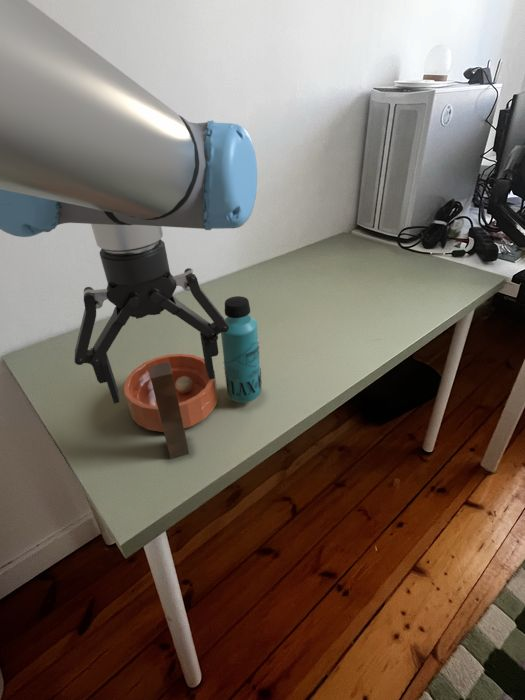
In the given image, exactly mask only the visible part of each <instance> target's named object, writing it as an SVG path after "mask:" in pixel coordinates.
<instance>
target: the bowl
mask: <svg viewBox="0 0 525 700" xmlns="http://www.w3.org/2000/svg"><path fill="white" fill-rule="evenodd" d="M167 362H169V363H170V366H171V370H172V373H173V378H174V383H175V384H176V381H177V379H178V378H180V377H182V376H186V377H189V378H190V379H191V380H192V382H193V388H192V390H191V391H190V392H189V393H186V394H182V393H180V392H178V391H177V389H176V392H177V397H178V402H179V407H180V411H181V416H182V421H183V426H184V429H187V428H190V427H193V426H195V425H197V424H198V423H200V422H203V421H204V420H205V419H206V418H207V417H208V416H209V415H210V414H211V413H212V412H213V411H214V409H215V407H216V405H217V403H218V398H219V397H218V395H219V392H218V386H217V379H216V378H217V377H215V379H211V380H210V378H209V376H208V374H207V371H206V367H205V361H204V357H200V356H197V355H194V354H189V353H188V354H187V353H175V354H174V353H172V354H166V355H161V356H158V357H155V358H152V359H149V360H147V361H145V362H143V363H141V364H140V365H139V366H137V367H136V368H135V369H133V370H132V371H131V373H130V374H129V375H128V376H127V377H126V378H125V382H124V385H123V392H124V396H125V400H126V404H127V407H128V409H129V413H130V417H131V419H133V421H134V422H135V423H136V424H137V425H138V426H140V427H142V428H144V429H146V430H147V431H152V432H153V431H155V432H160V433H164V430H163V426H162V422H161V418H160V414H159V410H158V406H157V402H156V398H155V394H154V390H153V386H152V382H151V377H150V373H149V368H148V367H150V366H154V365H159V364H163V363H167ZM214 375H215V376H216V372H215V370H214ZM175 388H176V387H175Z"/></svg>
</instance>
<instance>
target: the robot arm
mask: <svg viewBox="0 0 525 700" xmlns="http://www.w3.org/2000/svg"><path fill="white" fill-rule="evenodd" d="M257 163H258V162H257V156H256V151H255V147H254V143H253V141H252V138H251V136H250V135H249V132H248V131H247V129H245V127H243V126H241V125H239V124H238V123H231V122H230V123H229V122H216V121H214V120H207V121H206V122H197V123H196V122H191V121H188V120H187V119H186V118H184V117H183V116H182V115H180V114H178V113H177V112H176V111H175V110H174V109H172V108H171V107H169V106H168V105H166V104H165V103H164V102H163V101H162V100H160V99H158V98H157V97H156V96H155V95H154V94H152V93H151V92H150V91H148V90H147V89H145V88H144V87H143V86H141V85H140V84H139V83H138V82H136V81H135V80H133V79H132V78H131V77H130V76H128V75H127V74H125V73H124V72H123V71H122V70H121V69H119V68H118V67H116V66H115V65H113V64H112V63H111V62H110V61H108V60H107V59H106V58H104V57H103V56H102V55H100V54H99V53H97V52H96V51H95V50H94V49H93V48H91V47H90V46H89V45H87V44H86V43H85V42H83V41H82V40H81V39H80V38H78V37H77V36H75V35H74V34H73V33H71V32H70V31H68V29H66V28H64V26H62V25H60V24H59V23H58V22H57V21H55V20H54V19H53V18H51V17H50V16H49V15H47V14H46V13H45V12H44V11H42V10H41V9H40V8H38V7H37V6H36V5H34V4H33V3H32V2H30V1H29V0H0V230H1V231H2V232H5V233H6V234H8V235H11V236H14V237H19V238H20V237H21V238H29V237H30V238H31V237H33V236H37V235H40V234H41V233H51V232H52V231H53V230H55V229H56V228H57V226H59V225H63V224H87V225H90V226H91V229H92V233H93V236H94V240H95V243H96V245H97V247H98V248H100V251H99V257H100V260H101V264H102V268H103V271H104V274H105V279H106V282H107V286H106V288H101V289H94V288H93V287H91V286H86V287H84V289H83V304H84V311H83V315H82V319H81V324H80V328H79V330H78V335H77V339H76V345H75V349H74V363H75V365H77V366H82V365H83V364H88V365H91V366H92V369H93V371H94V374H95V378H96V380H97V382H98V383H99V384H104V383H107V387H108V390H109V392H110V395H111V398H112V399H111V400H112V402H113V404H118V403H120V392H119V388H118V385H117V381H116V379H115V376H114V372H113V368H112V366H111V363H110V359H109V356H108V351H110V348H111V346H112V345H113V343H114V342H115V340H116V339H117V337H118V335H119V333H120V332H121V330H122V328H123V327H124V326H125V325H127V322H128V321H129V319H130V317H132V318H135V319H136V320H138V319H142V318H145V317H147V316H157V315H161V313H162V312H163V311H167V312H168V313H170V314H171V315H173V316H176V317H178V318H179V319H180V320H182V321H183V322H184V323H186V324H187V325H189V326H191V327H192V328H194V329H195V330H197V331H198V332H199V337H200V341H201V348H202V354H203V355H202V356H203V359H204V361H205V367H206V371H207V374H208V376H209V378H210V380H211V379H215V378H216V374H215V375H214V371H215V368H214V361H213V358H214V357H217V356H218V355H219V346H218V340H219V336H218V335H219V334H221V332H227V331H228V329H229V327H228V325H227V323H226V321H225V318H224V317H223V315H222V314H221V312H220V311H219V310H218V309H217V307H216V306H215V305H214V304H213V302H212V301H211V300H210V298H209V297H208V296H207V294H206V293H205V292H204V291H203V289H202V288H201V286H200V284H199V281H198V277H197V276H196V273H195V271H194V270H193V269H192V268H190V267H188V268H186V269H185V270H184V272H183V273H179V274H176V275H173V274H172V273H171V269H170V265H169V260H168V255H167V248H166V243H165V242H164V241H163V240H162V238H163V236H164V232H163V228H162V227H165V228H167V227H168V228H182V229H183V228H184V229H199V230H200V229H202V230H205V231H211V230H212V229H213V230H214V229H218V230H219V229H237V228H240V227H242V226H244V225H245V224H246V223H247V222H248V221H249V219H250V217H251V215H252V213H253V210H254V207H255V203H256V199H257V191H258V190H257V189H258V164H257ZM177 287H181V288H182V289H183V290H184V291H187V292H189V291H190V293H191V295H192V297H193V298H194V299H195V301H196V302H197V304H198V305H199V306H200V307H201V308H202V309H203V310H204V312H205V313H206V315H208V317H209V318H210V319H211V320H212V323H210V321H208V320H206V319H205V318H203V317H202V316H200V314H198V313H196V312H195V311H194V310H193V309H191V308H190V307H188V306H187V305H185V304H184V303H183V302H181V301H180V300H179V299H178V298H177V297H176V296H174V293H175V291H176V289H177ZM107 300H108V301H109V302H110V303H111V304H113V305H114V308H113V312H112V314H111V316H110V318H109V319H108V321H107V322H106V324H105V326H104V328H103V329H102V330H101V333H100V335H99V336H98V338H97V339H96V341H95V343H94V344H93V346H92V347H90V342H91V338H92V335H93V331H94V328H95V327H94V326H95V322H96V318H97V310H98V309H101V308H102V307H103V304H104V302H105V301H107ZM89 347H90V349H89Z"/></svg>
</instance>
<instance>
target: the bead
mask: <svg viewBox="0 0 525 700" xmlns="http://www.w3.org/2000/svg"><path fill="white" fill-rule="evenodd" d="M175 387H176V389H177V391H178V392H180V393H182V394H186V393H189V392H190V391H191V390H192V388H193V382H192V380H191V379H190V378H189V377H186V376H182V377H180V378H178V379H177V381H176V384H175Z"/></svg>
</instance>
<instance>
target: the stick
mask: <svg viewBox="0 0 525 700" xmlns="http://www.w3.org/2000/svg"><path fill="white" fill-rule="evenodd" d="M148 368H149V373H150V377H151V382H152V386H153V390H154V394H155V398H156V402H157V406H158V410H159V414H160V418H161V422H162V426H163V430H164V432H163V434H164V437H165V442H166V445H167V450H168V455H169V458H170V460H172V459H176V458H180V457H183V456H186V455H189V454H190V450H189V445H188V441H187V436H186V435H187V434H186V432H185V431H186V430H185V428H184V426H183V421H182V416H181V411H180V407H179V402H178V397H177V392H176V388H175V383H174V378H173V373H172V370H171V366H170V363H169V362H167V363H163V364H159V365H154V366H150V367H148Z"/></svg>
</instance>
